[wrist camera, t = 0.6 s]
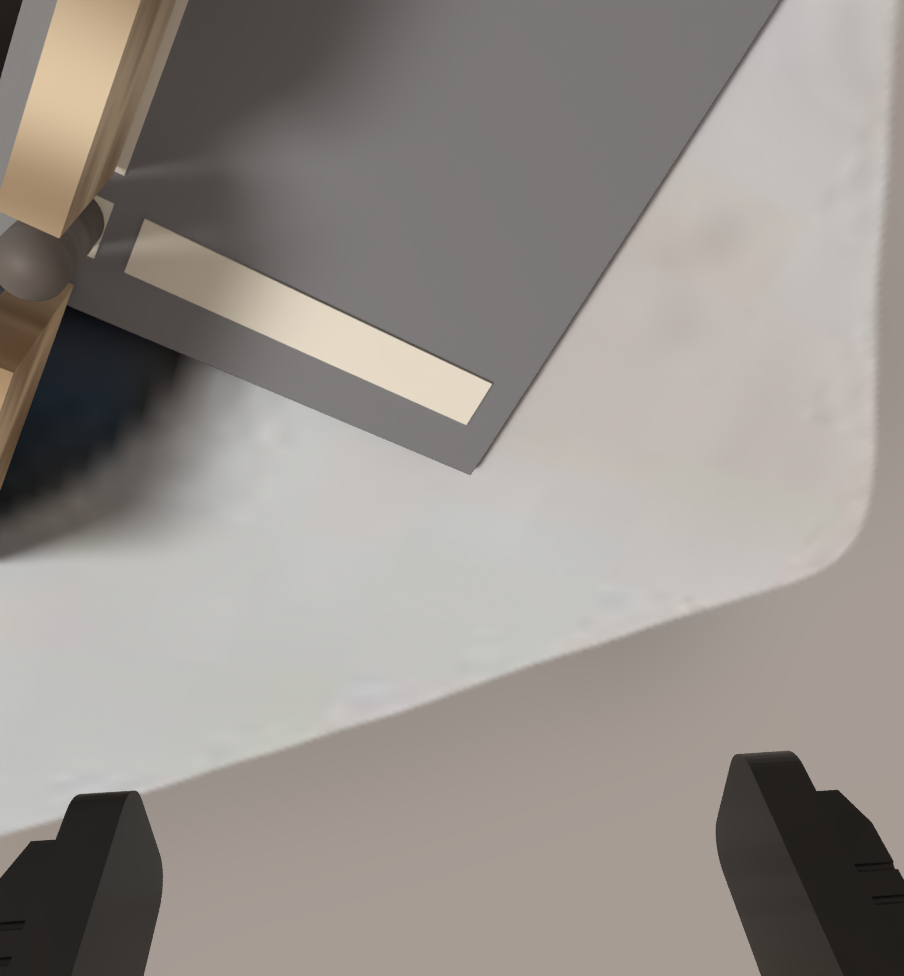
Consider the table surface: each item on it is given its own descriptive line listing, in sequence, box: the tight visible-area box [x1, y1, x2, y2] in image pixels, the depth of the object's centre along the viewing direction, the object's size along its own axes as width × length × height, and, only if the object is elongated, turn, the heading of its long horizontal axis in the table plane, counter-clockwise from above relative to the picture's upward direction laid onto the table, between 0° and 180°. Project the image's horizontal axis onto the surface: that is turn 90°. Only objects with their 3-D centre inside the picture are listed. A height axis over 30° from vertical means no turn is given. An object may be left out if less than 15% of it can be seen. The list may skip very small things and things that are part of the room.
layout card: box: [0, 0, 779, 475], centre depth 27 cm, size 20×20×1 cm
